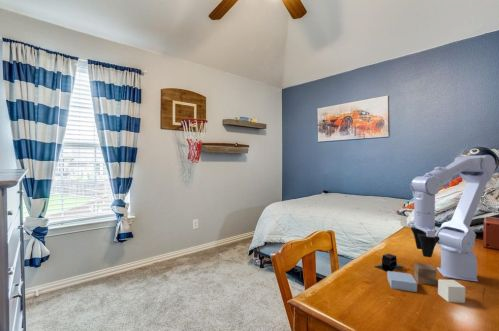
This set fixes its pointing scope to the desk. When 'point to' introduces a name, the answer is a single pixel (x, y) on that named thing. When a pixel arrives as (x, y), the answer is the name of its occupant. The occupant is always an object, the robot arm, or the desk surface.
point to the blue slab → (402, 281)
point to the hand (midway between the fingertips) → (423, 252)
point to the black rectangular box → (389, 263)
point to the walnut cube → (425, 273)
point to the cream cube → (451, 291)
